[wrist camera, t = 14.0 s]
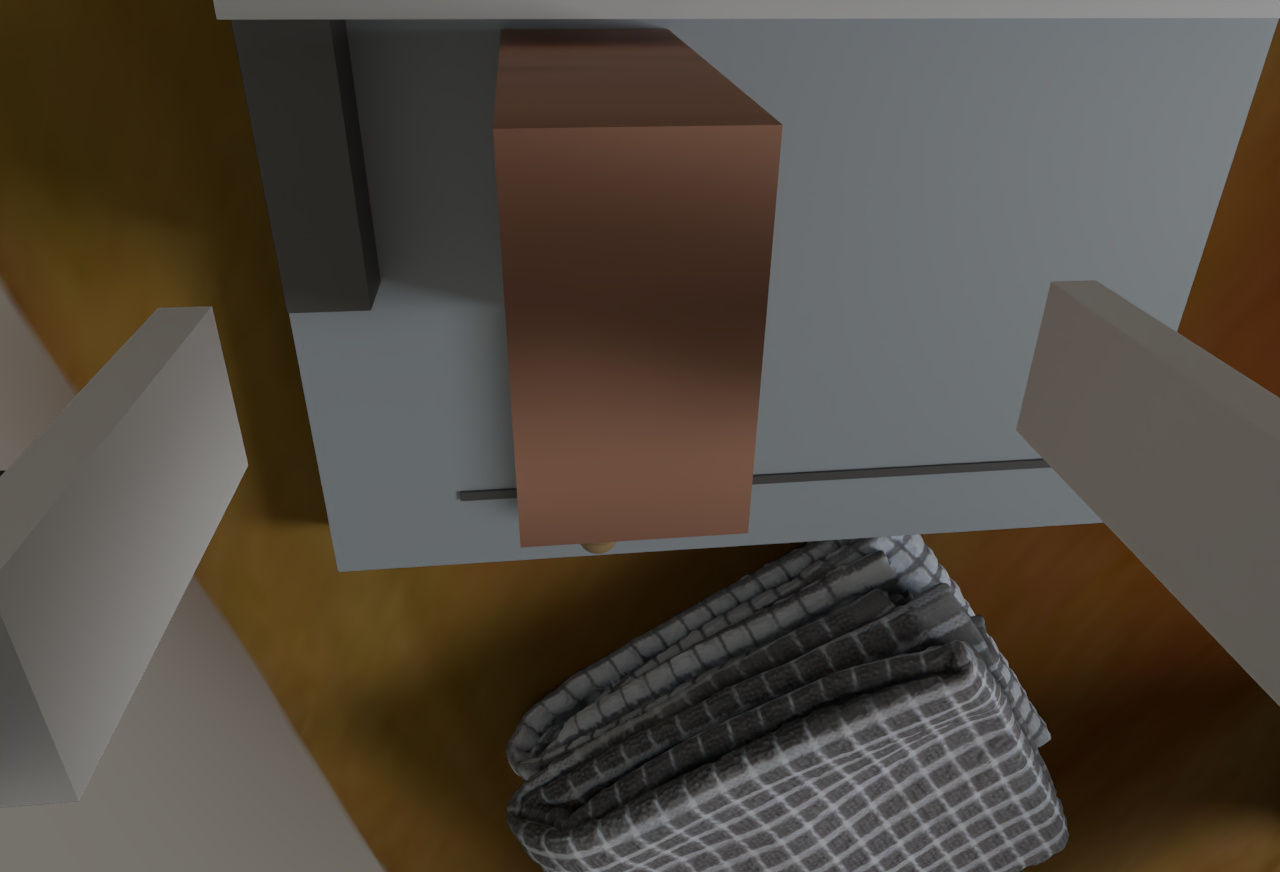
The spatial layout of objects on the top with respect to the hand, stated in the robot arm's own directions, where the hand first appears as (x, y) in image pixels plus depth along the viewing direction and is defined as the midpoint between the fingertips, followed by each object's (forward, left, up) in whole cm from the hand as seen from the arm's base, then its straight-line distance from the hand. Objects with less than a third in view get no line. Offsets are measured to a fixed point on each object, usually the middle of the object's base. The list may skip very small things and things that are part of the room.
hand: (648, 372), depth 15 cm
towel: (-23, -8, -14) cm, 28 cm away
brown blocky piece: (-3, 0, -11) cm, 11 cm away
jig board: (-3, -5, -13) cm, 14 cm away
